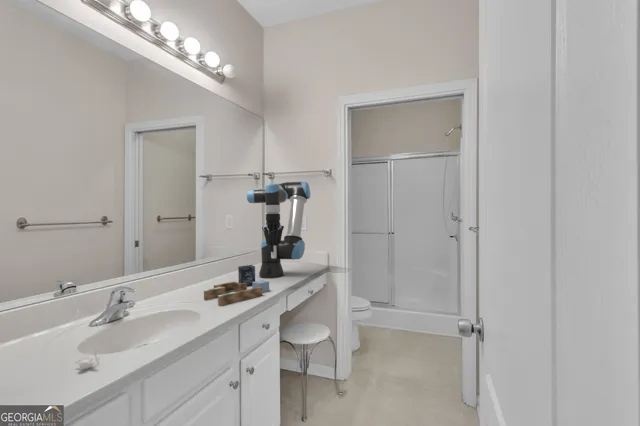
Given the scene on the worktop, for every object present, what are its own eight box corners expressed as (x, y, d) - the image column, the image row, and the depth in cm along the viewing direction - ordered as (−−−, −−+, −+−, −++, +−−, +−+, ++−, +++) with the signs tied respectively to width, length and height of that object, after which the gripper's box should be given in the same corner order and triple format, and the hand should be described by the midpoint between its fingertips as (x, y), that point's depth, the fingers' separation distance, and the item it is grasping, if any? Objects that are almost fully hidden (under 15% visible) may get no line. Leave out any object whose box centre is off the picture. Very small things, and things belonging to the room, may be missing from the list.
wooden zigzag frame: (238, 288, 167) (237, 280, 167) (262, 295, 151) (262, 286, 151) (197, 296, 151) (197, 287, 151) (219, 306, 136) (219, 296, 136)
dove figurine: (66, 369, 81) (72, 349, 83) (82, 367, 85) (87, 348, 87) (91, 372, 79) (97, 351, 81) (106, 370, 84) (112, 350, 85)
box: (241, 287, 169) (241, 267, 169) (238, 285, 174) (237, 266, 174) (255, 285, 173) (255, 265, 173) (251, 283, 178) (251, 264, 178)
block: (262, 289, 164) (262, 279, 164) (269, 291, 159) (269, 281, 159) (252, 291, 159) (252, 281, 159) (259, 293, 155) (259, 283, 155)
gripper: (278, 213, 173) (279, 256, 173) (258, 213, 163) (259, 258, 164) (287, 212, 167) (287, 257, 168) (266, 213, 158) (267, 260, 158)
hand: (273, 258), depth 166 cm, fingers closed
